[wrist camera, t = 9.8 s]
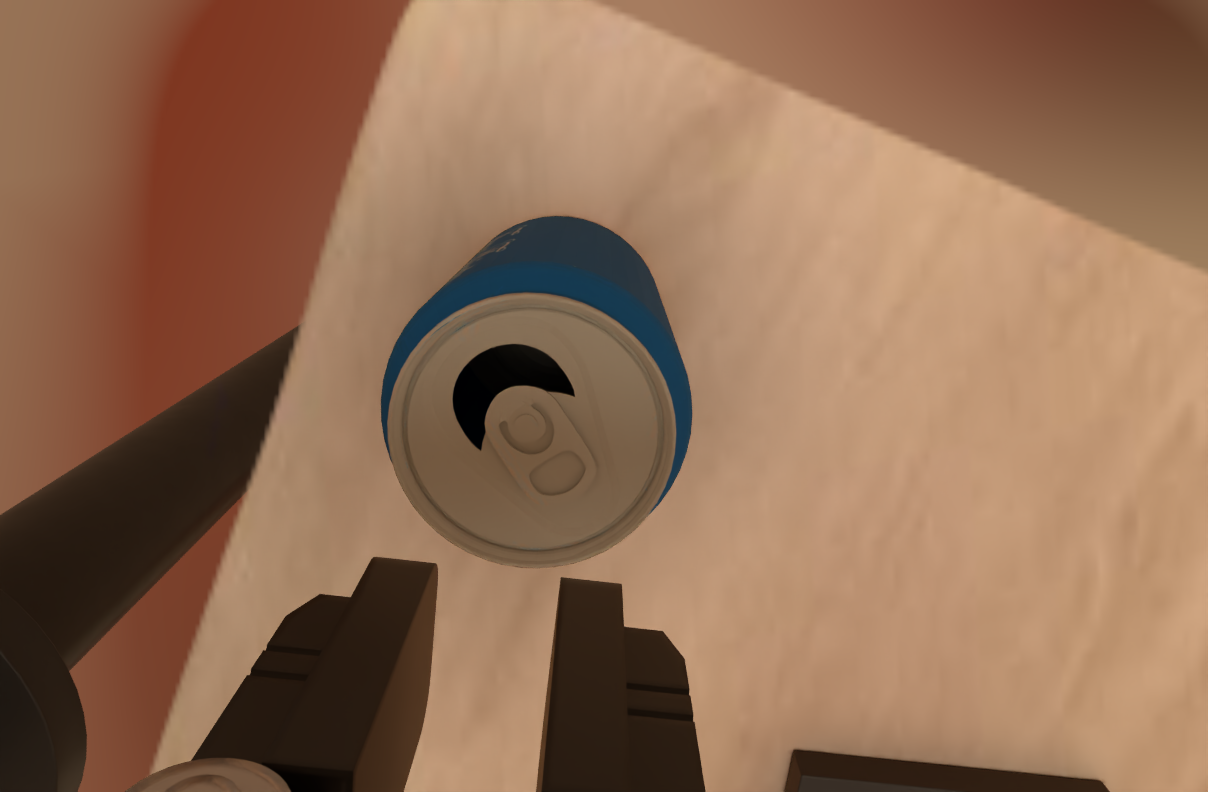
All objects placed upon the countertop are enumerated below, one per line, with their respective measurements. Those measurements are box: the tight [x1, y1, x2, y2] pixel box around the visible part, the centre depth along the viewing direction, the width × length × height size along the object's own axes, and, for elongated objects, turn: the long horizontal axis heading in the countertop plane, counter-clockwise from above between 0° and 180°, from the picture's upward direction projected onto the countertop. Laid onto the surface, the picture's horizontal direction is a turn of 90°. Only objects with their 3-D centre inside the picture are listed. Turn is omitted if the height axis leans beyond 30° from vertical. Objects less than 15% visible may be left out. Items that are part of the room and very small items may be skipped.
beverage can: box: [381, 216, 692, 568], centre depth 23 cm, size 6×6×12 cm
